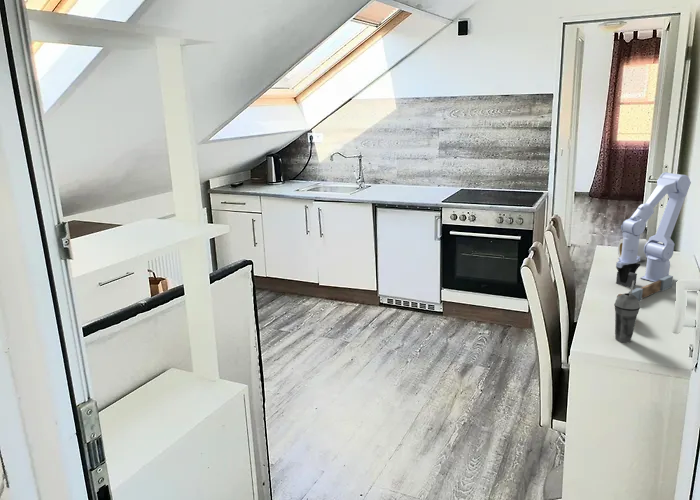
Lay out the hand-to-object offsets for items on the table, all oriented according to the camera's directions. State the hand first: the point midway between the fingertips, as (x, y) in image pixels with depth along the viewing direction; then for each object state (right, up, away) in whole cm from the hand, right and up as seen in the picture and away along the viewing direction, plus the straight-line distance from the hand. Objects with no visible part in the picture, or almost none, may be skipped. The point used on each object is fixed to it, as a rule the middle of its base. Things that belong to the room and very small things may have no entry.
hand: (626, 281), depth 225 cm
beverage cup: (-25, -16, -48) cm, 57 cm away
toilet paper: (+19, +8, +32) cm, 38 cm away
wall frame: (+3, -5, -12) cm, 13 cm away
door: (+3, -4, -12) cm, 13 cm away
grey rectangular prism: (0, -1, 0) cm, 1 cm away
